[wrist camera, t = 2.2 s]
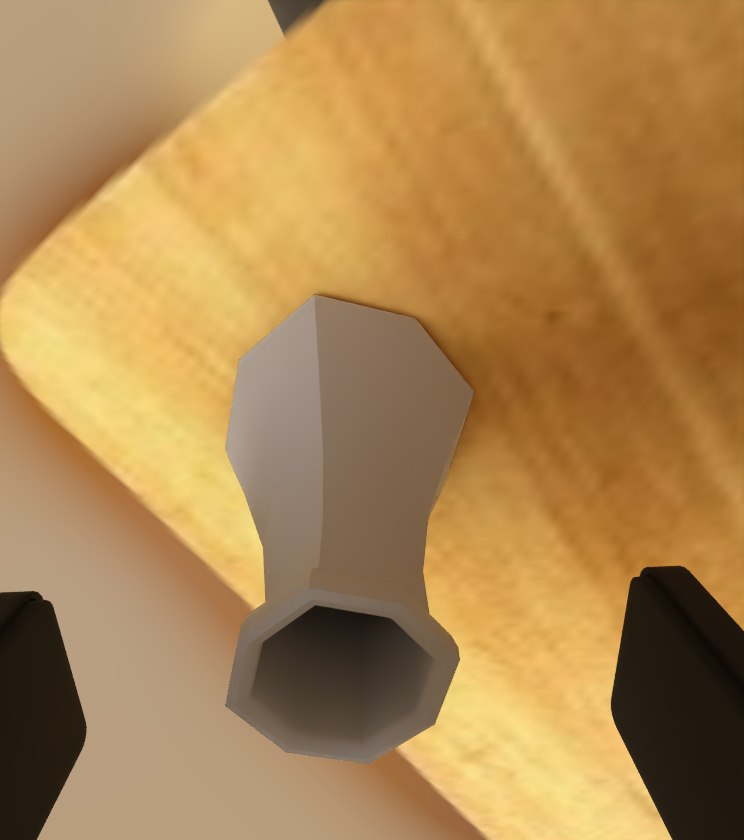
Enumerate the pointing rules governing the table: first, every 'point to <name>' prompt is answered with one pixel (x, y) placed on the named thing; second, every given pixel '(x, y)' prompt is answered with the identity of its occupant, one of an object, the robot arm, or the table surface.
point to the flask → (343, 528)
